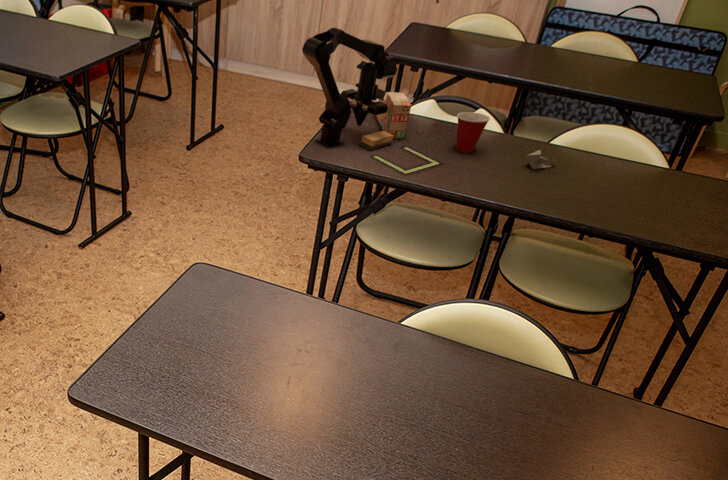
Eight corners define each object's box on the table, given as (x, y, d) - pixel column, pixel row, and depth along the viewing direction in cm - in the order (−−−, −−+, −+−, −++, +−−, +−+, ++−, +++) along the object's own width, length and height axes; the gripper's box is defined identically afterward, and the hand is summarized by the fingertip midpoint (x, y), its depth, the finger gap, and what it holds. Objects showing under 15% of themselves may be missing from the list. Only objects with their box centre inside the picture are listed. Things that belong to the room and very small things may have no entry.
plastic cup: (474, 143, 245) (483, 109, 238) (484, 155, 237) (495, 121, 229) (444, 142, 245) (453, 109, 237) (453, 155, 237) (463, 121, 229)
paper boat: (536, 155, 235) (564, 156, 229) (530, 173, 236) (558, 175, 230) (524, 143, 227) (553, 144, 220) (518, 162, 228) (547, 164, 221)
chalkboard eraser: (370, 150, 239) (372, 140, 237) (360, 145, 242) (362, 135, 240) (391, 144, 243) (393, 135, 241) (381, 140, 246) (383, 130, 244)
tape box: (405, 174, 225) (405, 173, 225) (373, 157, 235) (373, 156, 235) (439, 163, 231) (439, 163, 231) (406, 147, 241) (406, 147, 241)
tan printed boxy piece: (375, 116, 264) (381, 83, 256) (391, 116, 264) (398, 84, 256) (386, 138, 247) (393, 104, 239) (404, 138, 247) (411, 104, 239)
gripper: (403, 85, 233) (394, 130, 243) (366, 69, 245) (358, 113, 255) (379, 90, 229) (371, 136, 239) (342, 74, 241) (335, 118, 251)
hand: (359, 125), depth 246 cm, fingers closed
